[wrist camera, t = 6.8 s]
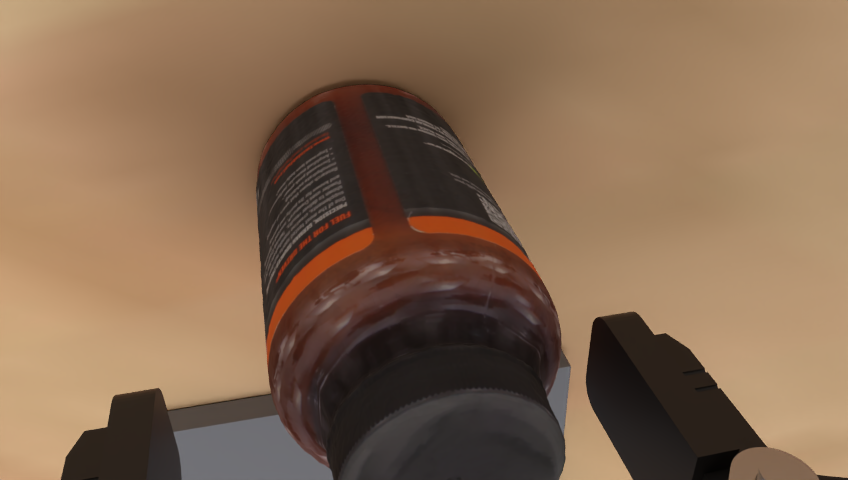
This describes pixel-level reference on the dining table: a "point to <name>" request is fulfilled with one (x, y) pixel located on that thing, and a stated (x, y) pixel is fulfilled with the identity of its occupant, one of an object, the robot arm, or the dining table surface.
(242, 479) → the mat
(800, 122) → the dining table surface
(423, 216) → the supplement bottle
